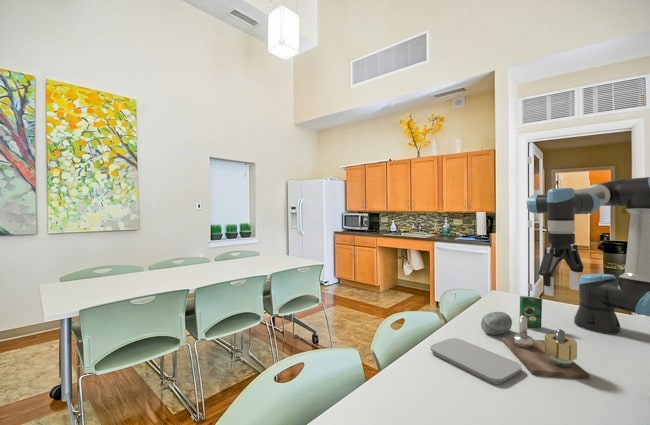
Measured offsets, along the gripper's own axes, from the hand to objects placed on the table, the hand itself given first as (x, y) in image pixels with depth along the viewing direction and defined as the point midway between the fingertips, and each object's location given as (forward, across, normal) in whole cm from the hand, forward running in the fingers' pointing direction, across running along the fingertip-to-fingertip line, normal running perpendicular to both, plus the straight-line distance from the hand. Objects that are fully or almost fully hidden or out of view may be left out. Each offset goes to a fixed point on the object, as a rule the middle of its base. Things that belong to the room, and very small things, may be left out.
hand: (561, 292), depth 107 cm
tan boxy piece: (+18, +9, +5) cm, 21 cm away
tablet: (+22, +32, -9) cm, 40 cm away
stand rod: (+21, +8, -9) cm, 24 cm away
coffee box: (+24, -16, -23) cm, 36 cm away
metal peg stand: (+21, +9, +5) cm, 23 cm away
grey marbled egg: (+23, +4, -24) cm, 33 cm away
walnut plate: (+23, +8, -2) cm, 24 cm away
